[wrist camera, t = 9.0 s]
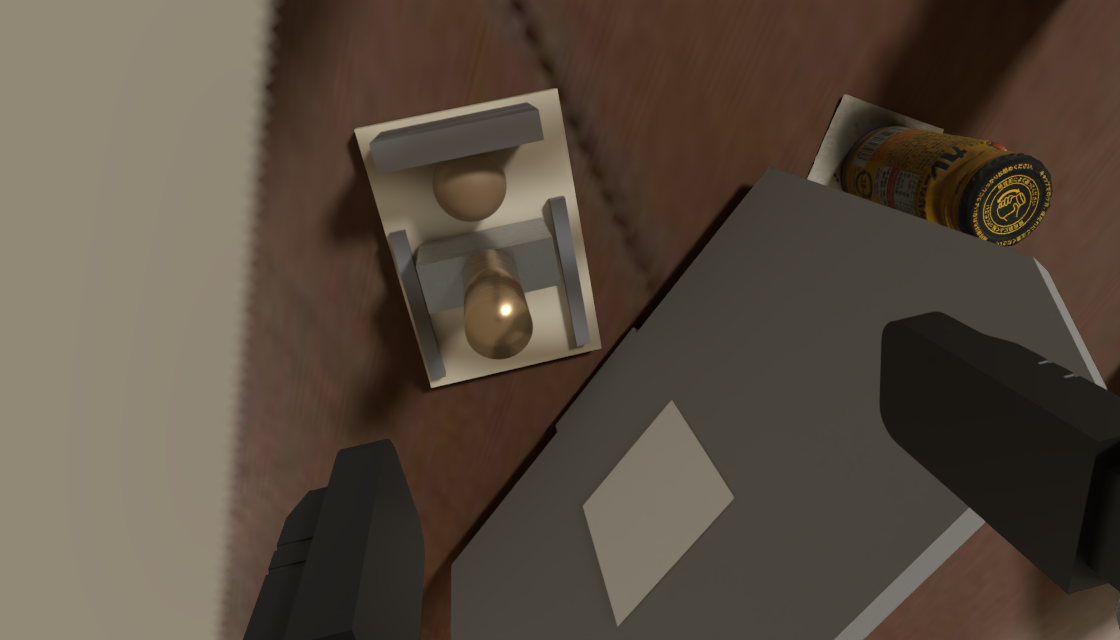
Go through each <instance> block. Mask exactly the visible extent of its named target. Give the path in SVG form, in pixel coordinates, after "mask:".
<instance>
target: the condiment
mask: <svg viewBox="0 0 1120 640" xmlns="http://www.w3.org/2000/svg"><path fill="white" fill-rule="evenodd" d="M871 125H872V127H871ZM943 131H944V129H941V128H938V127H935V126H933V125H930V124H927V123H924V122H921V121H918V120H916V119H913V118H910V117H907V116H904V115H901V114H899V113H896V112H893V111H891V110H888V109H885V108H882V107H879V106H877V105H874V104H871V103H868V102H865V101H862V100H860V99H857V98H854V97H851V96H849V95H846V94H844V96H843V98H842V101H841V103H840V106H839V107H838V109H837V110H836V113H835V115H834V118H833V120H832V122H831V124H830V127H829V129H828V131H827V133H826V135H825V138H824V140H823V142H822V145H821V147H820V150H819V152H818V154H817V156H816V158H815V162H814V164H813V167H812V169H811V172H810V174H809V176H808V178H807V179H808V180H811V181H814V182H817V183H820V184H823V185H826V186H828V187H831V188H834V189H837V190H840V191H843V192H846V193H849V194H852V195H855V196H858V197H860V198H863V199H866V200H869V201H872V202H875V203H878V204H881V205H884V206H887V207H890V208H893V209H895V210H898V211H901V212H904V213H907V214H910V215H913V216H916V217H919V218H922V219H925V220H927V221H930V222H933V223H936V224H939V225H942V226H945V227H948V228H951V229H954V230H957V231H960V232H962V233H965V234H968V235H971V236H974V237H977V238H980V239H983V240H986V241H989V242H992V243H995V244H997V245H1000V246H1003V247H1006V246H1012V245H1015V244H1017V243H1018V242H1020V241H1021V240H1023V239H1024V238H1025V237H1027V236H1028V235H1029V234H1030V233H1031V232H1032V231H1033V230H1034V229H1035V228H1036V227H1037V226H1038V225H1039V224H1040V222H1041V221H1042V219H1043V217H1044V216H1045V214H1046V211H1047V209H1048V208H1049V207H1050V199H1051V196H1052V182H1051V175H1050V173H1049V172H1048V171H1047V169H1046V168H1045V166H1044V165H1043V164H1042V162H1041V161H1039V160H1037V159H1035V158H1033V157H1032V156H1029V155H1024V154H1023V153H1018V154H1017V153H1014V152H1011V151H1008V150H1007V149H1006V148H1004V147H1003V146H1001V145H999V144H997V143H994V142H991V141H988V140H982V139H973V138H969V137H962V136H955V135H949V134H944V133H943ZM834 173H836V175H837V177H836V178H835V177H834ZM837 178H839V182H837V180H836V179H837Z"/></svg>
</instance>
